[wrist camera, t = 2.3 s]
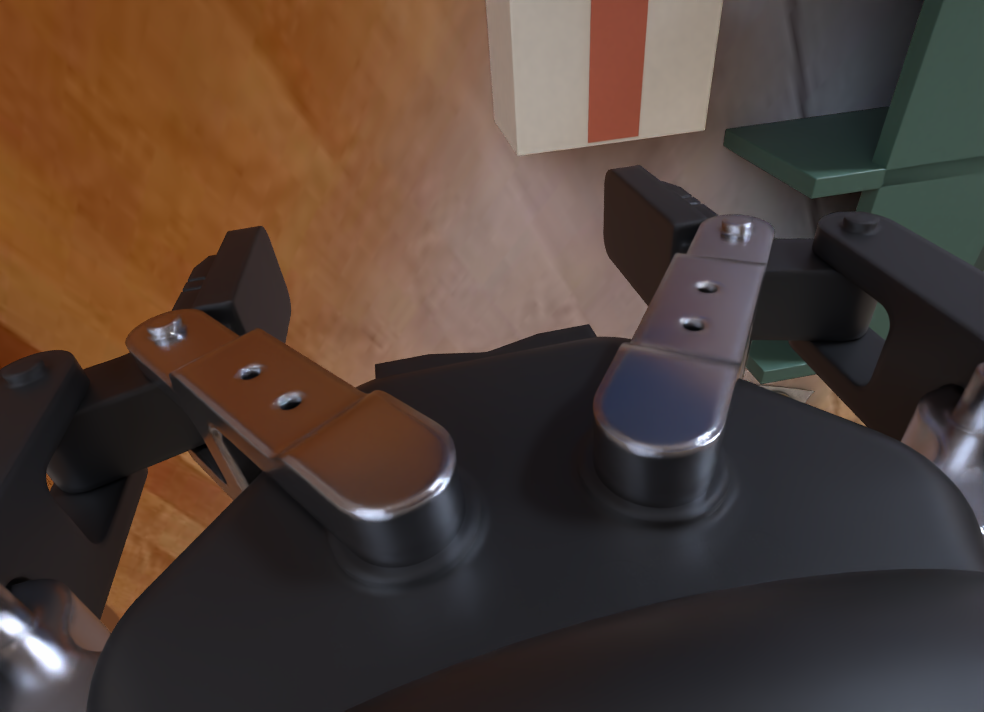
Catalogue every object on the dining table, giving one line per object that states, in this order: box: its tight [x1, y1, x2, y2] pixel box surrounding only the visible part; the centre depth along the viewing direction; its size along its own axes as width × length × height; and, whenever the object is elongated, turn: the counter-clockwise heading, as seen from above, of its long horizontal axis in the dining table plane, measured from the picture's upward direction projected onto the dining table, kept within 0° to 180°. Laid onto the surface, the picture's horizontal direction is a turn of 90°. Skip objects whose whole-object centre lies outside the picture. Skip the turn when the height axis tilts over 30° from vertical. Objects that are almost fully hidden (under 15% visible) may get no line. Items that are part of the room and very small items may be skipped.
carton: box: [486, 0, 723, 156], centre depth 27 cm, size 6×9×6 cm
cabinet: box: [723, 0, 984, 384], centre depth 31 cm, size 24×12×8 cm, turn 5°
